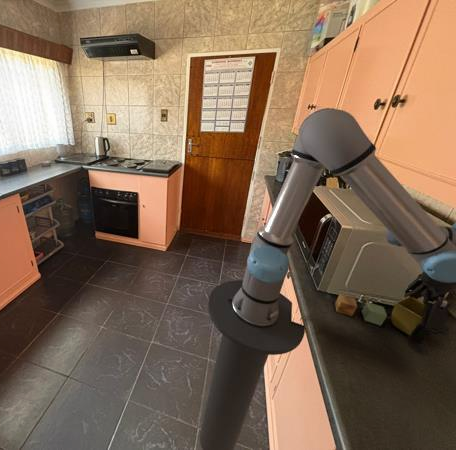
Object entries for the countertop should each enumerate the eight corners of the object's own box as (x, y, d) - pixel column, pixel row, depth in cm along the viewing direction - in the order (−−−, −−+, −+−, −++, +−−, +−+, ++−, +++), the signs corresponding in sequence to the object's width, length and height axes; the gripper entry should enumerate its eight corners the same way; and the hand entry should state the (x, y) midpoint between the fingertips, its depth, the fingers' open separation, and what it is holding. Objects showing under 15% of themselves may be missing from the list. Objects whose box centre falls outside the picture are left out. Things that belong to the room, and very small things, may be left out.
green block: (364, 320, 83) (370, 310, 81) (361, 311, 87) (367, 302, 85) (381, 325, 81) (387, 316, 79) (377, 316, 85) (383, 306, 83)
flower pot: (397, 314, 85) (410, 295, 81) (429, 334, 78) (445, 314, 74) (382, 322, 82) (395, 302, 78) (415, 344, 75) (431, 323, 71)
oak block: (336, 311, 86) (341, 302, 84) (335, 303, 90) (339, 293, 88) (351, 316, 84) (357, 306, 82) (349, 307, 88) (354, 298, 86)
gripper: (489, 305, 59) (438, 362, 69) (442, 256, 78) (408, 306, 88) (446, 294, 62) (404, 351, 72) (411, 249, 81) (382, 299, 91)
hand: (406, 326), depth 80 cm, fingers closed on flower pot, 11 cm apart
